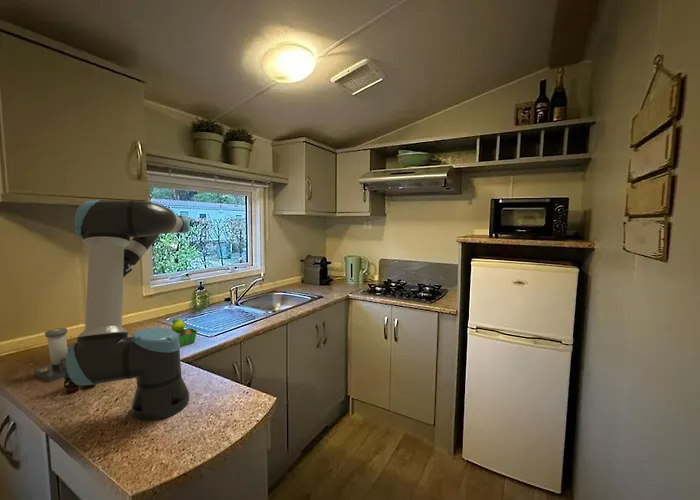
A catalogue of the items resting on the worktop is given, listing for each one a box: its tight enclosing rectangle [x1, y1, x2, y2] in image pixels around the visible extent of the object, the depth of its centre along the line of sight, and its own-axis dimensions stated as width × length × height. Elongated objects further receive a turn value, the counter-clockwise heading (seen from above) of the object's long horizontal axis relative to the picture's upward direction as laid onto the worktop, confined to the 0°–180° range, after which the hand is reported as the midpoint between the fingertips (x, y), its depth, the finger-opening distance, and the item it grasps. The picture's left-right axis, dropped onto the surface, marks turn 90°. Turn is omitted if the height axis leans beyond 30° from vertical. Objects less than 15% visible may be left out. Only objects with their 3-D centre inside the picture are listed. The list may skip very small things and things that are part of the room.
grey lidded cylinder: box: [44, 327, 69, 365], centre depth 119 cm, size 6×6×12 cm
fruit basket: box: [171, 317, 198, 347], centre depth 146 cm, size 11×9×11 cm
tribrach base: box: [33, 359, 66, 383], centre depth 120 cm, size 11×11×6 cm
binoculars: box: [63, 365, 96, 395], centre depth 109 cm, size 9×11×10 cm
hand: (92, 300), depth 129 cm, fingers closed
